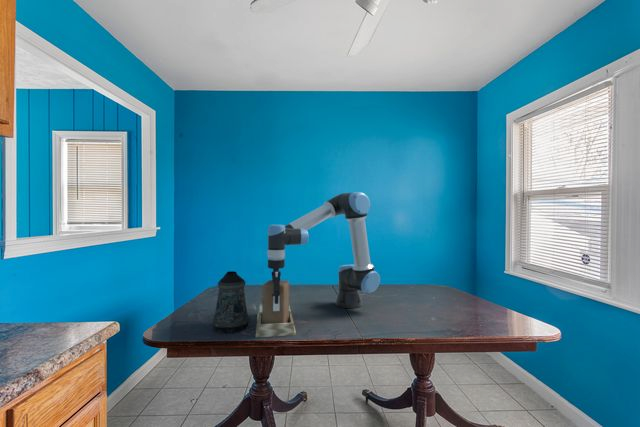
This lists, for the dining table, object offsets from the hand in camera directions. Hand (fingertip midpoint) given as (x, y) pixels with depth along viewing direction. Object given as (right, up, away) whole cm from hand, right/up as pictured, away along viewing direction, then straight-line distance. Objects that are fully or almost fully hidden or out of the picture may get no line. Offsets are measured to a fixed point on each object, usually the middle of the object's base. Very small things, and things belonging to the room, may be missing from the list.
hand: (275, 306), depth 140 cm
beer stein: (-22, -10, +3) cm, 25 cm away
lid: (-2, -5, +14) cm, 15 cm away
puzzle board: (-1, -10, +8) cm, 13 cm away
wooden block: (0, -9, 0) cm, 9 cm away
